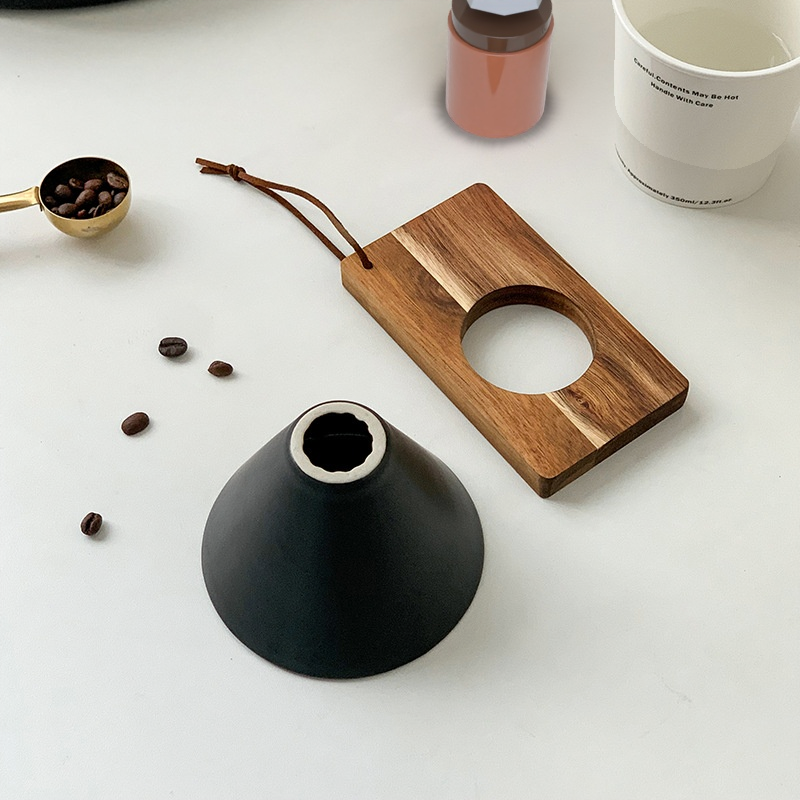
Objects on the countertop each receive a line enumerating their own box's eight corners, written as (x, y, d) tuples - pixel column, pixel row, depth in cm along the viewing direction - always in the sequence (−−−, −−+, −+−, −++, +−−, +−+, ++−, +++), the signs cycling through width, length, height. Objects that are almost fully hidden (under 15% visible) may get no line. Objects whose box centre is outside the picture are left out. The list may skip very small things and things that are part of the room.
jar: (525, 67, 112) (535, -39, 103) (557, 132, 107) (571, 28, 98) (433, 86, 111) (434, -19, 101) (462, 153, 106) (466, 49, 97)
